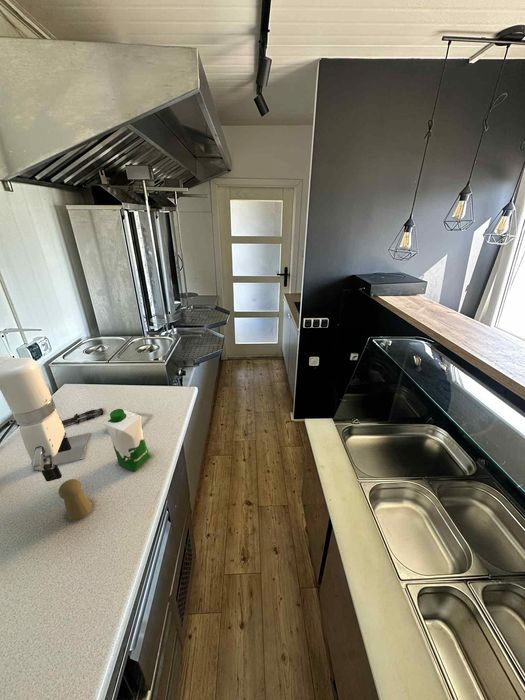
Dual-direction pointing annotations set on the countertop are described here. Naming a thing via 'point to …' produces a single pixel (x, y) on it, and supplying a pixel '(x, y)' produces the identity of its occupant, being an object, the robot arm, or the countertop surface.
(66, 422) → the knife
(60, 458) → the scale
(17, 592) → the countertop surface
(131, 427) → the milk carton
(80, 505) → the cork
